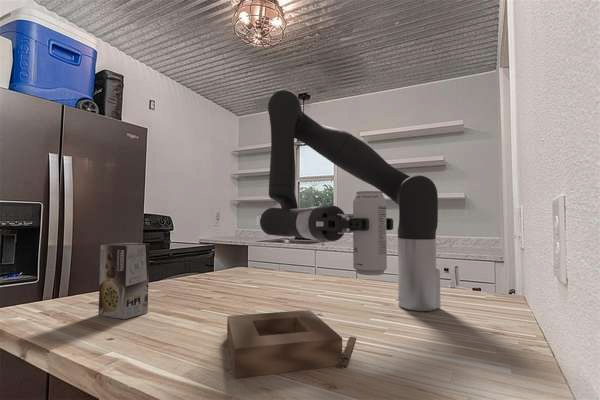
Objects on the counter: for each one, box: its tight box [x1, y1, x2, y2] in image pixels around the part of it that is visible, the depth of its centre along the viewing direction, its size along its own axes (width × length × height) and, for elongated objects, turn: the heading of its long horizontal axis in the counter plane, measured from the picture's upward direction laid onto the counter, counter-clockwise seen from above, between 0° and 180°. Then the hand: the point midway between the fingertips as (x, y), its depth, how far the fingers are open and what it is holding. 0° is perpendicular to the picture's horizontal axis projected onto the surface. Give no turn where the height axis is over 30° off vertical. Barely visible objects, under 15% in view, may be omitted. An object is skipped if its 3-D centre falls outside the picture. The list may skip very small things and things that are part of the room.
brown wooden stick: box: [336, 336, 357, 369], centre depth 54 cm, size 13×1×1 cm, turn 164°
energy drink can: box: [352, 190, 388, 276], centre depth 61 cm, size 6×6×15 cm
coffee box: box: [98, 242, 151, 320], centre depth 76 cm, size 9×6×16 cm
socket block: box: [226, 309, 343, 379], centre depth 55 cm, size 16×16×4 cm
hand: (380, 224), depth 59 cm, fingers closed on energy drink can, 6 cm apart
